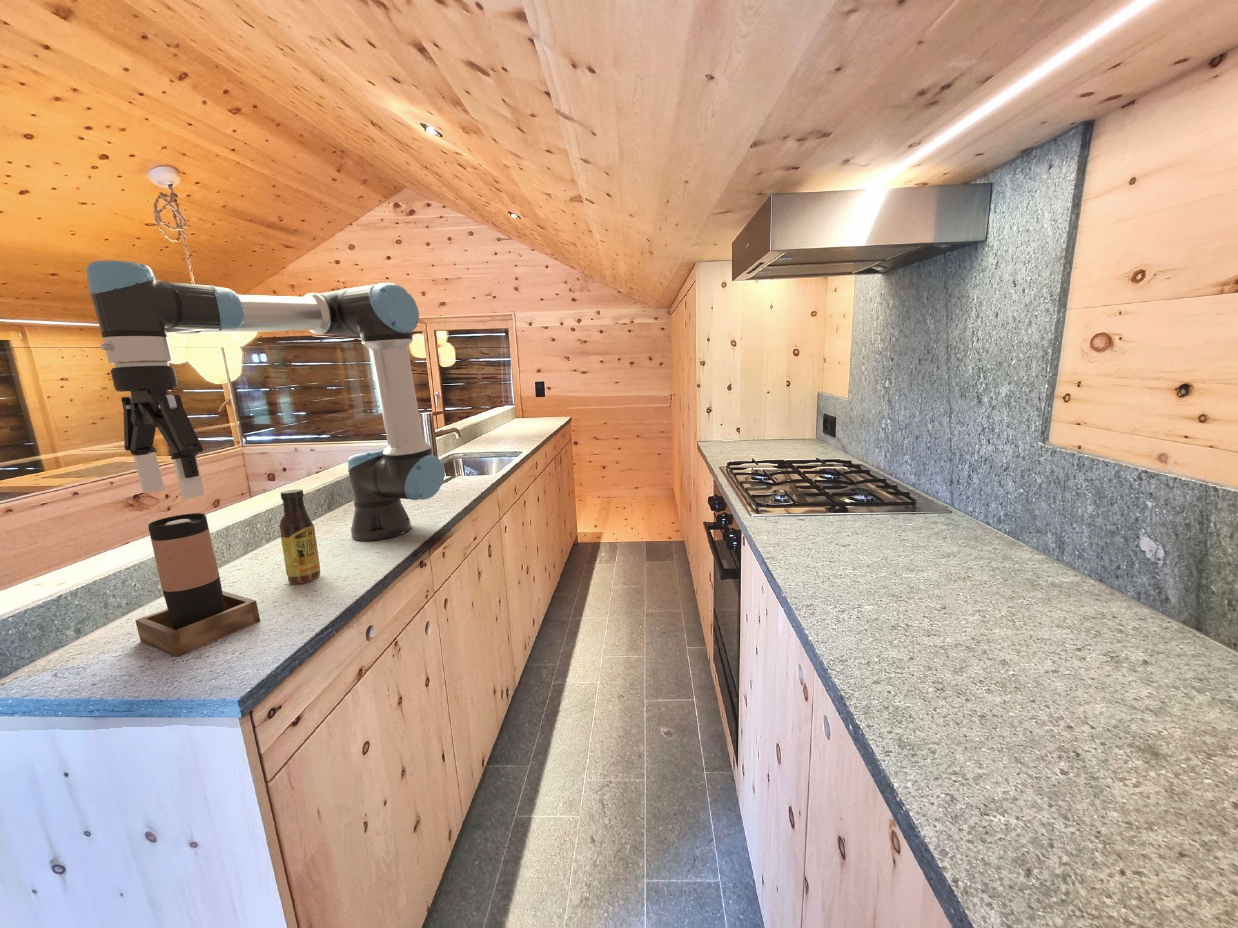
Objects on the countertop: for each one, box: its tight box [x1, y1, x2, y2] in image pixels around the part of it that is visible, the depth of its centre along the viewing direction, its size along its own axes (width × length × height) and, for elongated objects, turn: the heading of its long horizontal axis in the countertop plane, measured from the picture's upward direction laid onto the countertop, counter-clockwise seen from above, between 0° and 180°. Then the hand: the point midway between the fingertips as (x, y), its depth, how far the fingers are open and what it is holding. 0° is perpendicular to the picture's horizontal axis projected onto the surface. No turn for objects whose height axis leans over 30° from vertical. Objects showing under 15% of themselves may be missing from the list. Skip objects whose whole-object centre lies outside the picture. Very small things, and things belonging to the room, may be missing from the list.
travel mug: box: [147, 512, 225, 630], centre depth 86 cm, size 8×8×20 cm
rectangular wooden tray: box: [134, 590, 261, 658], centre depth 88 cm, size 12×12×4 cm
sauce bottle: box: [279, 488, 321, 585], centre depth 107 cm, size 7×6×20 cm
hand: (173, 494), depth 84 cm, fingers open, 13 cm apart
